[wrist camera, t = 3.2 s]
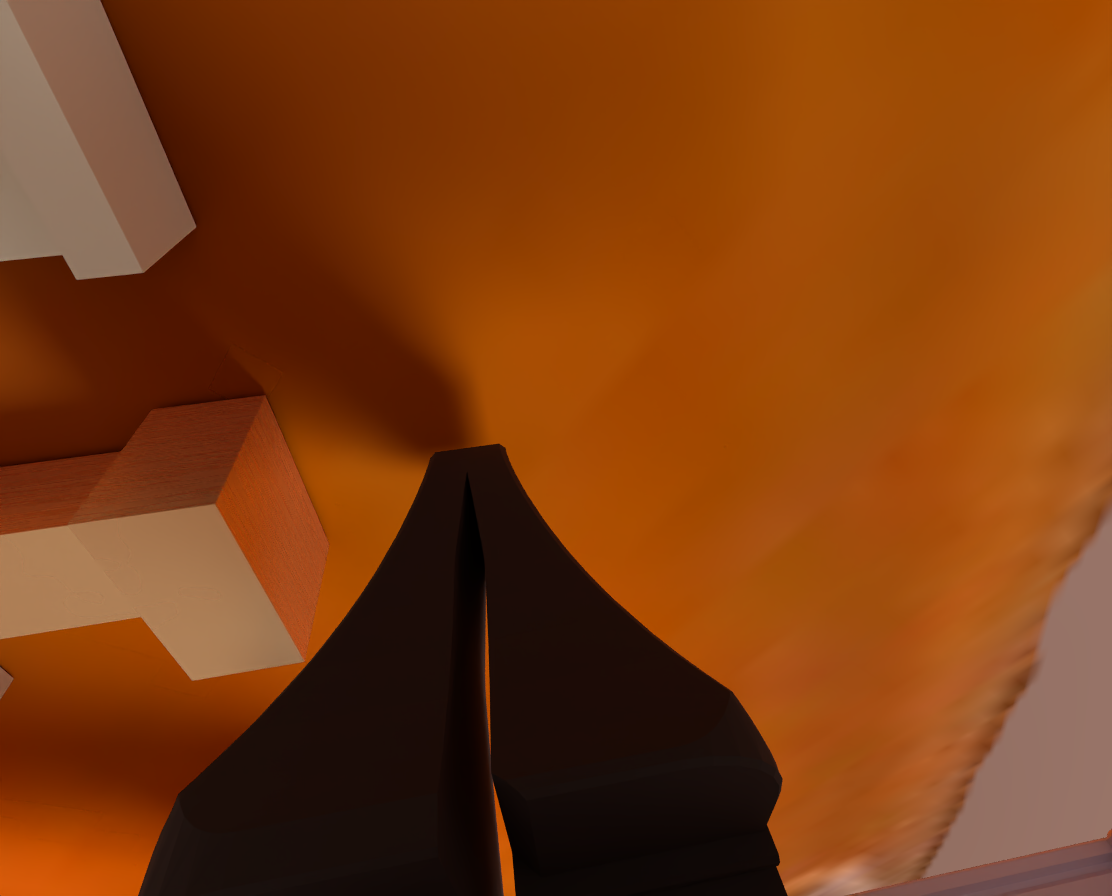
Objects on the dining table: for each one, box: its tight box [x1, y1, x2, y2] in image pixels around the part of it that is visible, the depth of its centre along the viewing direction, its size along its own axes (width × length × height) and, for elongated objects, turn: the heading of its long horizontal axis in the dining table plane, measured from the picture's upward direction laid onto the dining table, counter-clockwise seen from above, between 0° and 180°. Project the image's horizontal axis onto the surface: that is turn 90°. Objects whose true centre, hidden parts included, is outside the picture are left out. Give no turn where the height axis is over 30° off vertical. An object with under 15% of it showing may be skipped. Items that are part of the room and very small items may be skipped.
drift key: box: [0, 395, 329, 681], centre depth 10 cm, size 4×6×3 cm, turn 93°
